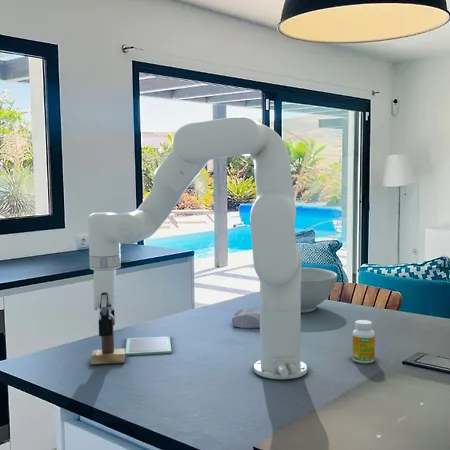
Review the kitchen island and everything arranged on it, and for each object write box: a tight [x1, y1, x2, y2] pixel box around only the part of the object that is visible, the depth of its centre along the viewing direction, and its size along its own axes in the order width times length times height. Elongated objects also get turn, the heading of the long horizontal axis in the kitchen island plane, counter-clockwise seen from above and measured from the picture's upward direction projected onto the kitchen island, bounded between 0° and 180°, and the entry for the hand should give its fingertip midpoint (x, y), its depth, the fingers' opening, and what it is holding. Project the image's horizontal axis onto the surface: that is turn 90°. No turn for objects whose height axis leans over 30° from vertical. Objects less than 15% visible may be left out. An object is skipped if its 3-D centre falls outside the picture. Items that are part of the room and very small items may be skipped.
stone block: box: [231, 307, 260, 329], centre depth 179 cm, size 12×5×10 cm
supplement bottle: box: [351, 319, 376, 364], centre depth 142 cm, size 5×5×10 cm
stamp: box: [90, 314, 126, 366], centre depth 144 cm, size 8×4×12 cm, turn 98°
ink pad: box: [125, 335, 172, 357], centre depth 157 cm, size 14×12×1 cm
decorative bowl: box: [258, 267, 338, 314], centre depth 197 cm, size 27×27×12 cm
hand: (107, 330), depth 144 cm, fingers open, 8 cm apart
